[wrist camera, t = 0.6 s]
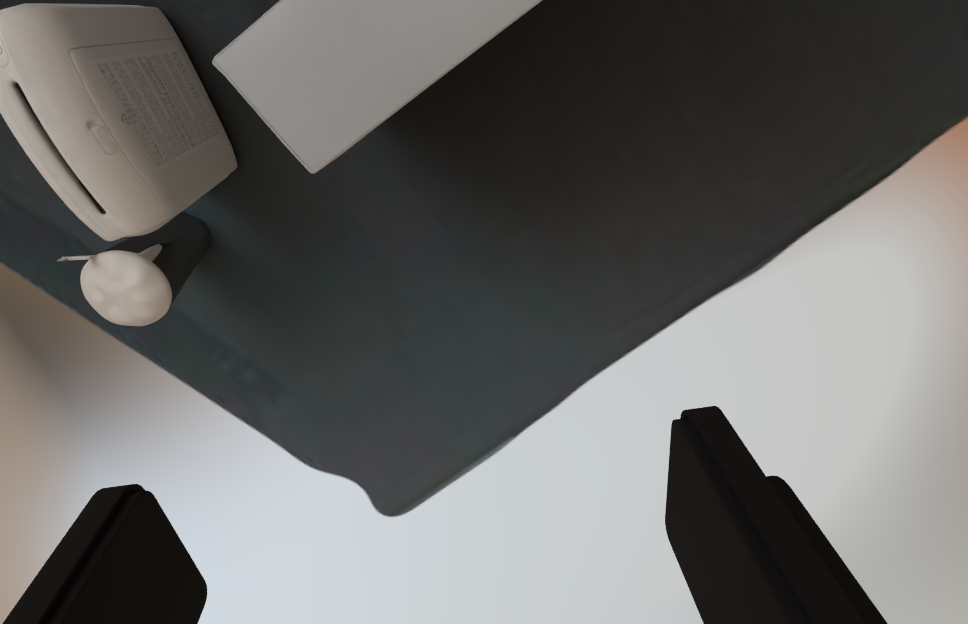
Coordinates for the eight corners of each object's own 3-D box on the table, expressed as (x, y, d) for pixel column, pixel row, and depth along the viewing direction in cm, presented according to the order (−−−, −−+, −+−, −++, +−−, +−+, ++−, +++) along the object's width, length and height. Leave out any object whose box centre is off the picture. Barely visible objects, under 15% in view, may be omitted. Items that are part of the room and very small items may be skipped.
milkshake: (181, 180, 35) (96, 238, 27) (235, 248, 38) (173, 322, 29) (125, 211, 36) (25, 278, 27) (182, 276, 39) (106, 356, 30)
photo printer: (91, 16, 31) (-99, 24, 20) (161, -8, 30) (7, -13, 20) (189, 189, 36) (79, 270, 25) (250, 170, 35) (166, 244, 25)
